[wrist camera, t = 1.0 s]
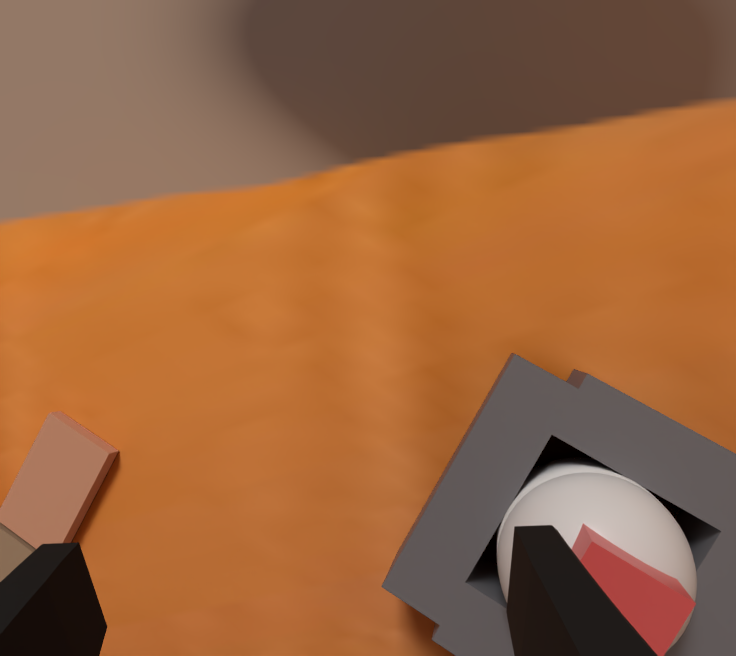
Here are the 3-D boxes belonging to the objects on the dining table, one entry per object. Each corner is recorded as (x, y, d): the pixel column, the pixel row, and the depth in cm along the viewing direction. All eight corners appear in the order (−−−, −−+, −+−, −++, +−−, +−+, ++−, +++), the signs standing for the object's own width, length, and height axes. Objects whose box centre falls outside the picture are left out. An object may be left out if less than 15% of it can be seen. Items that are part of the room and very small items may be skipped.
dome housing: (782, 482, 19) (835, 508, 16) (631, 722, 19) (656, 790, 16) (519, 339, 20) (523, 339, 17) (390, 564, 21) (373, 600, 18)
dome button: (697, 511, 18) (788, 586, 13) (612, 650, 18) (663, 783, 13) (546, 425, 19) (568, 459, 13) (467, 559, 19) (457, 646, 14)
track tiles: (119, 450, 23) (109, 453, 23) (-46, 764, 24) (-59, 774, 24) (60, 411, 24) (49, 412, 23) (-98, 719, 25) (-112, 728, 24)
